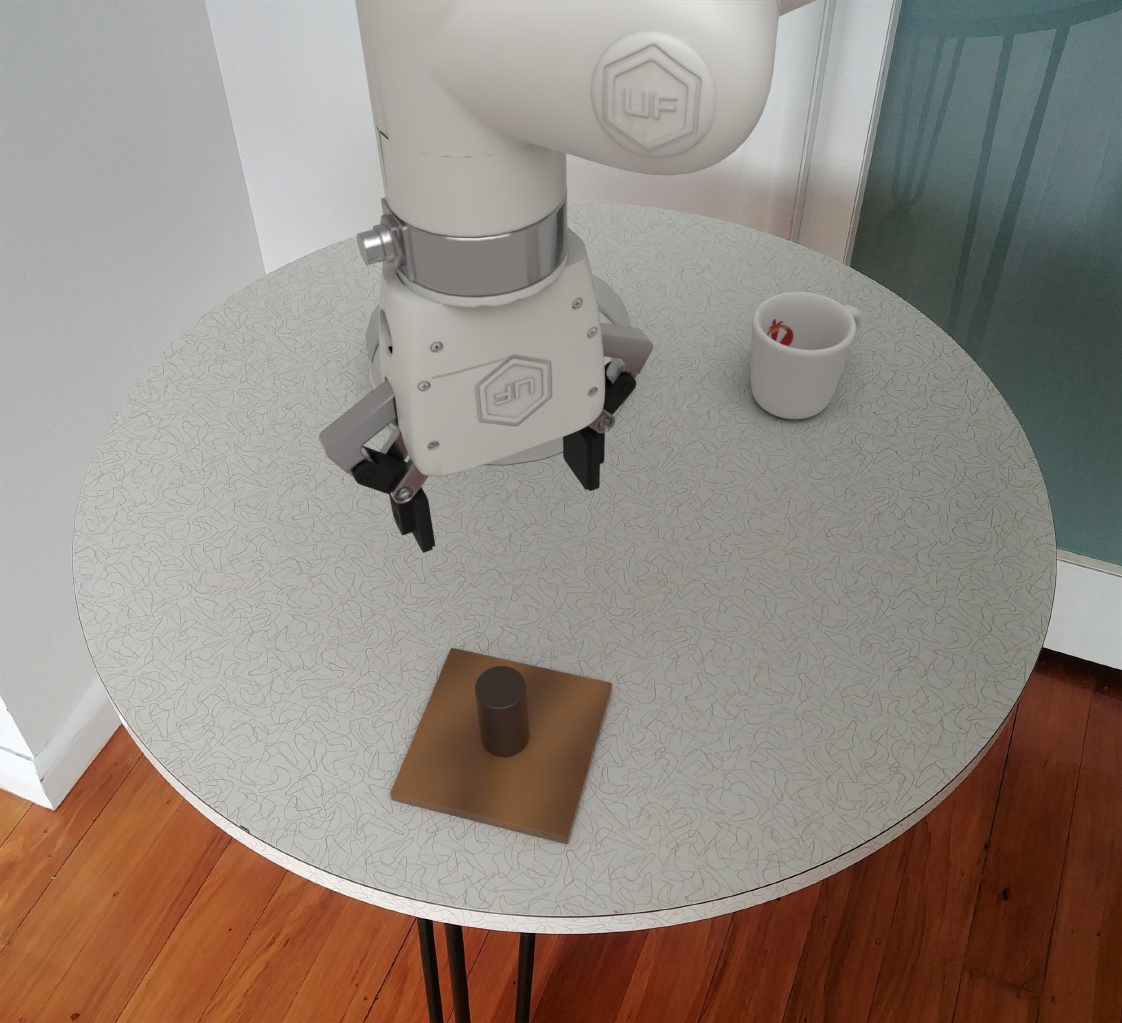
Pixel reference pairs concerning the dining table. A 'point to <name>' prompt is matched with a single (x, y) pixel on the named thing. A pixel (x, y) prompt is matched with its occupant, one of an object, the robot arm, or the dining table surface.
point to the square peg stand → (505, 745)
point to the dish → (609, 314)
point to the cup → (800, 351)
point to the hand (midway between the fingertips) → (502, 503)
